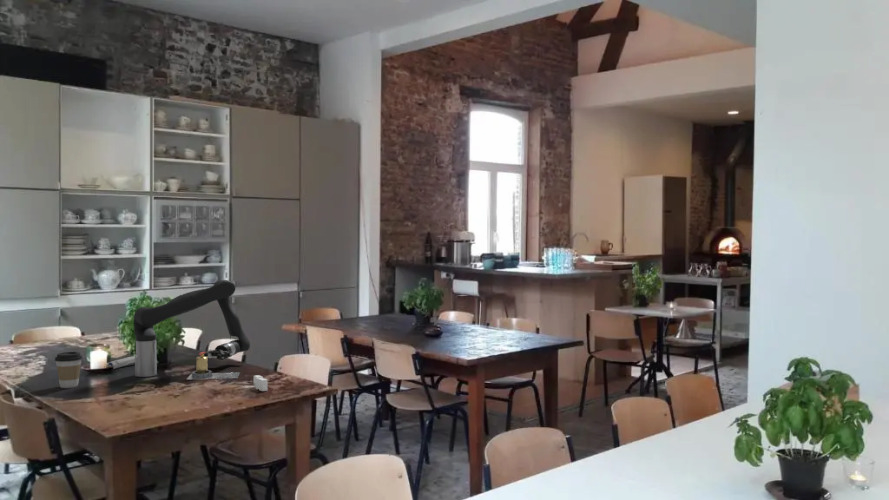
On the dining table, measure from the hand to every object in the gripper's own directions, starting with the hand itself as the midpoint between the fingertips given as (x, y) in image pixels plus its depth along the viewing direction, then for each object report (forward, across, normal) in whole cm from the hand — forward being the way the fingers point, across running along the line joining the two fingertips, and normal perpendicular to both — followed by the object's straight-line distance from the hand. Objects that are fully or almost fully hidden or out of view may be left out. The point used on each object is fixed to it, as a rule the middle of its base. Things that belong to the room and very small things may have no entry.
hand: (209, 356), depth 353 cm
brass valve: (+7, 0, +8) cm, 11 cm away
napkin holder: (+19, +35, +10) cm, 41 cm away
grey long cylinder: (-17, -52, +10) cm, 56 cm away
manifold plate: (+5, +5, +10) cm, 12 cm away
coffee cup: (+33, -51, +10) cm, 62 cm away
